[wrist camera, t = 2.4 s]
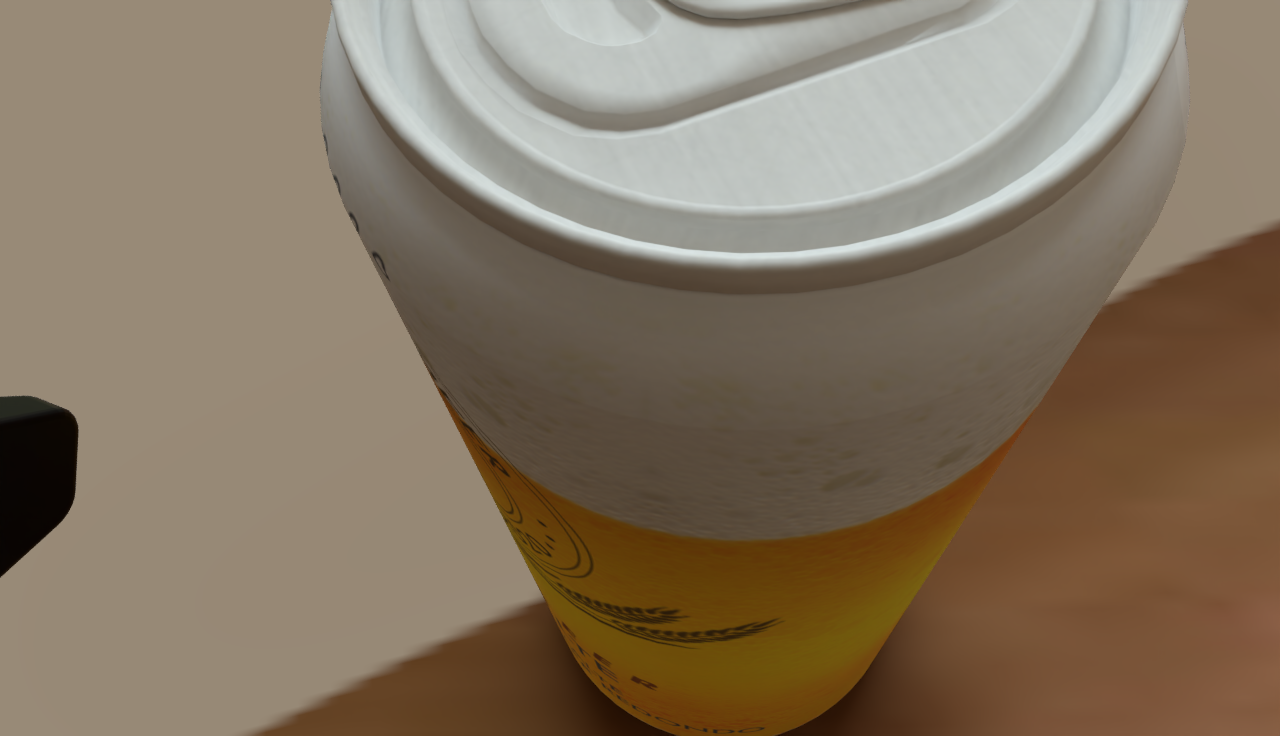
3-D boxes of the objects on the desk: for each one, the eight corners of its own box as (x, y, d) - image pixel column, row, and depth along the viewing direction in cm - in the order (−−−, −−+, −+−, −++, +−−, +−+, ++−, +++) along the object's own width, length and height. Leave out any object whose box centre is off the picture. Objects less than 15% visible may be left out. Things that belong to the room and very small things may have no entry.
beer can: (528, 463, 21) (232, -294, 8) (830, 392, 22) (1028, -450, 8) (594, 787, 19) (310, 461, 5) (937, 701, 19) (1483, 186, 6)
